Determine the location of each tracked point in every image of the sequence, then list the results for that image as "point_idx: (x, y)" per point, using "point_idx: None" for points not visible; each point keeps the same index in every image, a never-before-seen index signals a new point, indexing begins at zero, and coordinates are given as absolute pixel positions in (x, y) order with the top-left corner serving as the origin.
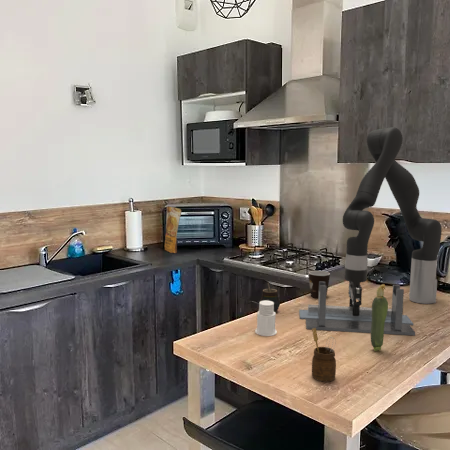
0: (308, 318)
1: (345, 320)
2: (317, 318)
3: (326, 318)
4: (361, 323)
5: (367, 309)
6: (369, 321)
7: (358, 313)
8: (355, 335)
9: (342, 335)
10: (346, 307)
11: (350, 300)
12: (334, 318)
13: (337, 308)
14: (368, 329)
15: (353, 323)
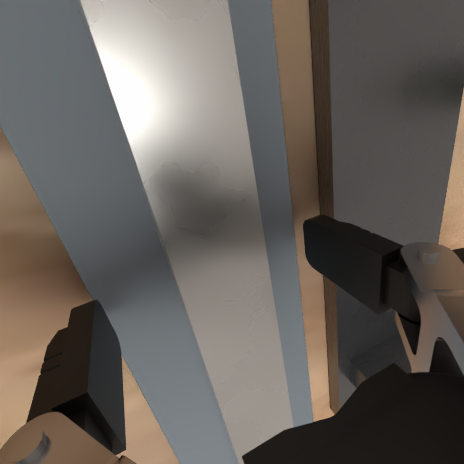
0: (311, 418)
1: (297, 280)
2: (309, 394)
3: (303, 366)
4: (367, 174)
5: (231, 157)
6: (280, 119)
7: (351, 224)
8: (460, 181)
9: (456, 233)
10: (239, 354)
11: (122, 416)
12: (292, 338)
13: (287, 388)
14: (454, 118)
15: (373, 221)
